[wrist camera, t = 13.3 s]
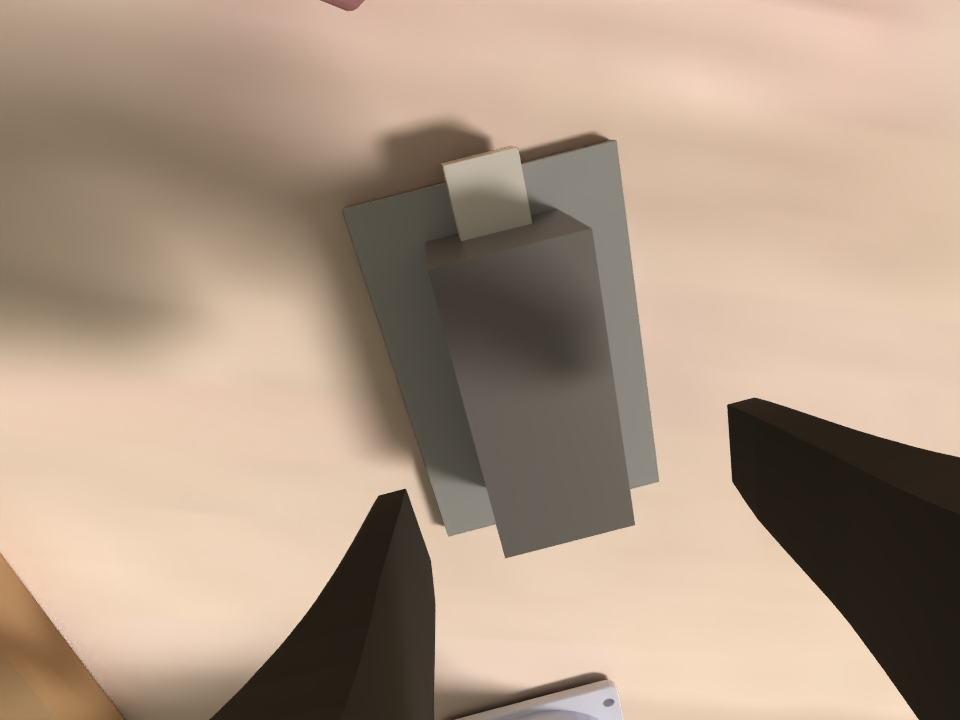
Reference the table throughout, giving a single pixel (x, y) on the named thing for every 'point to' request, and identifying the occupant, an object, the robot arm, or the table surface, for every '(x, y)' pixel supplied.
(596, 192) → the mat
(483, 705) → the table surface
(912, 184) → the table surface
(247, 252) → the table surface
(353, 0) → the mauve arch
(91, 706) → the switch block
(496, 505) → the bar
